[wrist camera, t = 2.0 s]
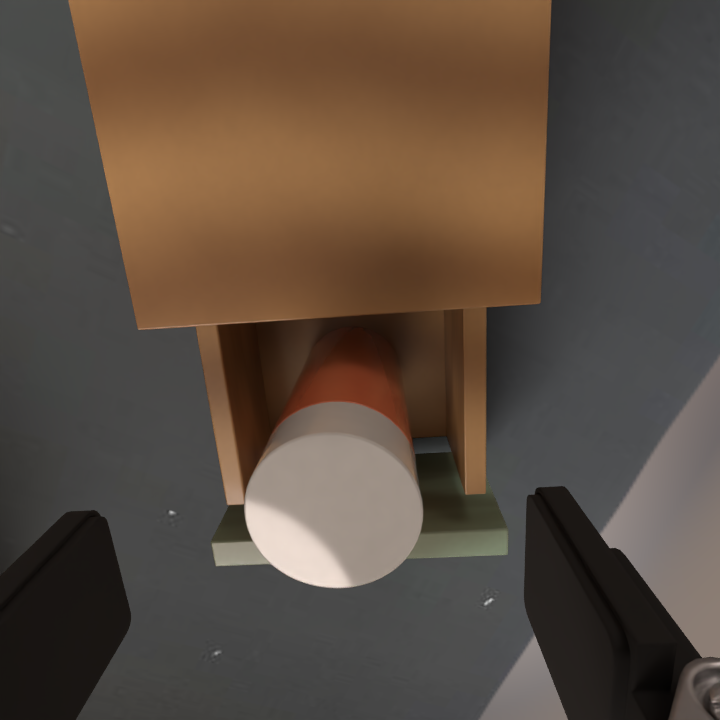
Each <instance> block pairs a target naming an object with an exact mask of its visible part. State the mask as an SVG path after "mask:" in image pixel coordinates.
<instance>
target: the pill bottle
mask: <svg viewBox="0 0 720 720" xmlns="http://www.w3.org/2000/svg"><path fill="white" fill-rule="evenodd" d="M244 514H245V521H246V525H247V529H248V531H249V534H250V536H251V539H252V540H253V542H254V544H255V546H256V547H257V549H258V550H259V551H260V553H261V554H262V555H263V556H264V557H265V558H266V559H267V561H268V562H269V563H271V564H272V565H273V566H274V567H275V568H277V569H278V570H279V571H281V572H283V573H284V574H286V575H287V576H289V577H291V578H294V579H296V580H298V581H301V582H303V583H306V584H310V585H314V586H318V587H326V588H348V587H355V586H360V585H364V584H367V583H370V582H373V581H375V580H377V579H379V578H382V577H383V576H385V575H387V574H388V573H390V572H392V571H393V570H394V569H395V568H397V567H398V566H399V565H400V564H401V563H402V562H403V561H404V560H405V559H406V558H407V556H408V555H409V554H410V552H411V551H412V550H413V548H414V546H415V544H416V542H417V540H418V538H419V535H420V532H421V529H422V523H423V501H422V495H421V488H420V482H419V476H418V470H417V464H416V457H415V451H414V445H413V439H412V433H411V426H410V420H409V414H408V408H407V402H406V396H405V389H404V383H403V377H402V371H401V365H400V361H399V357H398V355H397V353H396V351H395V349H394V347H393V346H392V345H391V344H390V342H389V341H388V340H387V339H386V338H384V337H383V336H382V335H380V334H379V333H377V332H375V331H373V330H370V329H367V328H364V327H357V326H348V327H342V328H338V329H335V330H333V331H331V332H329V333H327V334H325V335H324V336H323V337H322V338H320V339H319V340H318V341H317V342H316V344H315V345H314V346H313V348H312V350H311V351H310V353H309V355H308V357H307V360H306V362H305V364H304V366H303V368H302V370H301V372H300V374H299V376H298V378H297V381H296V383H295V385H294V387H293V389H292V391H291V393H290V395H289V397H288V400H287V402H286V404H285V406H284V408H283V410H282V412H281V414H280V416H279V419H278V421H277V423H276V425H275V427H274V429H273V431H272V433H271V435H270V437H269V440H268V442H267V444H266V446H265V448H264V450H263V452H262V454H261V456H260V459H259V461H258V463H257V465H256V467H255V469H254V471H253V473H252V475H251V478H250V480H249V483H248V485H247V488H246V493H245V498H244Z"/></svg>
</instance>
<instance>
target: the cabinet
mask: <svg viewBox="0 0 720 720" xmlns="http://www.w3.org/2000/svg"><path fill="white" fill-rule="evenodd" d="M69 5H70V10H71V15H72V19H73V24H74V29H75V34H76V38H77V43H78V48H79V52H80V57H81V62H82V67H83V71H84V76H85V81H86V86H87V90H88V95H89V100H90V105H91V109H92V114H93V119H94V123H95V128H96V133H97V138H98V142H99V147H100V152H101V157H102V161H103V166H104V171H105V176H106V180H107V185H108V190H109V194H110V199H111V204H112V209H113V213H114V218H115V223H116V228H117V232H118V237H119V242H120V247H121V251H122V256H123V261H124V265H125V270H126V275H127V280H128V284H129V289H130V294H131V299H132V303H133V308H134V313H135V318H136V322H137V327H138V329H139V330H147V329H162V328H178V327H193V326H208V325H223V324H239V323H254V322H269V321H284V320H300V319H315V318H330V317H345V316H361V315H376V314H391V313H406V312H422V311H437V310H452V309H467V308H483V307H498V306H513V305H528V304H539V303H540V302H541V281H542V252H543V224H544V196H545V168H546V139H547V111H548V83H549V54H550V26H551V0H69Z"/></svg>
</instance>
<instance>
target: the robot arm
mask: <svg viewBox="0 0 720 720" xmlns="http://www.w3.org/2000/svg"><path fill="white" fill-rule="evenodd" d="M524 602H525V608H526V612H527V615H528V618H529V621H530V623H531V626H532V628H533V631H534V633H535V636H536V639H537V641H538V643H539V646H540V649H541V651H542V654H543V656H544V659H545V662H546V664H547V667H548V669H549V672H550V674H551V677H552V679H553V682H554V685H555V687H556V690H557V692H558V695H559V697H560V700H561V703H562V705H563V708H564V710H565V713H566V715H567V718H568V720H720V658H714V657H707V658H702V657H701V656H700V655H699V653H698V652H697V651H696V649H695V648H694V647H693V645H692V644H691V643H690V641H689V640H688V639H687V637H686V636H685V635H684V633H683V632H682V631H681V629H680V628H679V627H678V625H677V624H676V623H675V621H674V620H673V619H672V617H671V616H670V615H669V613H668V612H667V611H666V609H665V608H664V607H663V605H662V604H661V602H660V601H659V600H658V599H657V598H656V596H655V595H654V593H653V592H652V591H651V589H650V588H649V587H648V585H647V584H646V582H645V581H644V580H643V578H642V577H641V576H640V575H639V573H638V572H637V571H636V569H635V568H634V566H633V565H632V564H631V562H630V561H629V560H628V558H627V557H626V556H625V555H624V554H623V553H622V552H621V551H620V550H618V549H616V548H609V547H608V545H607V544H606V543H605V541H604V540H603V538H602V537H601V536H600V534H599V533H598V531H597V530H596V529H595V527H594V526H593V524H592V523H591V522H590V520H589V519H588V518H587V516H586V515H585V513H584V512H583V511H582V509H581V508H580V506H579V505H578V504H577V502H576V501H575V499H574V498H573V497H572V495H571V494H570V492H569V491H568V490H567V489H566V488H565V487H563V486H559V487H539V488H537V489H536V491H535V495H528V497H527V509H526V545H525V580H524ZM130 622H131V612H130V608H129V604H128V600H127V596H126V592H125V588H124V584H123V581H122V577H121V573H120V569H119V565H118V561H117V557H116V553H115V549H114V545H113V541H112V537H111V534H110V530H109V526H108V522H107V520H106V518H105V517H101V516H100V514H99V513H98V512H97V511H94V510H91V511H71V512H67V513H66V514H64V515H63V516H62V517H61V518H60V519H59V520H58V521H57V522H56V523H55V524H54V525H53V526H52V527H50V528H49V529H48V530H47V531H46V532H45V533H44V534H43V535H42V536H41V537H40V538H39V539H38V540H37V541H36V542H35V543H34V544H33V545H32V546H31V547H30V548H29V549H28V550H27V551H26V552H25V553H24V554H23V555H22V556H20V557H19V558H18V559H17V560H16V561H15V562H14V563H13V564H12V565H11V566H10V567H9V568H8V569H7V570H6V571H5V572H4V573H3V574H2V575H1V576H0V720H76V718H77V717H78V715H79V713H80V711H81V710H82V708H83V706H84V705H85V703H86V701H87V700H88V698H89V696H90V694H91V693H92V691H93V689H94V688H95V686H96V684H97V683H98V681H99V679H100V677H101V676H102V674H103V672H104V671H105V669H106V667H107V666H108V664H109V662H110V660H111V659H112V657H113V655H114V654H115V652H116V650H117V649H118V647H119V645H120V643H121V642H122V640H123V638H124V637H125V635H126V633H127V631H128V629H129V626H130Z"/></svg>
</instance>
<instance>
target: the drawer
mask: <svg viewBox="0 0 720 720" xmlns="http://www.w3.org/2000/svg"><path fill="white" fill-rule="evenodd" d="M486 315H487V307H483V308H467V309H452V310H437V311H422V312H406V313H391V314H376V315H361V316H345V317H330V318H315V319H300V320H284V321H269V322H254V323H239V324H223V325H208V326H196V331H197V337H198V343H199V349H200V354H201V360H202V366H203V371H204V377H205V383H206V388H207V394H208V400H209V406H210V411H211V417H212V423H213V428H214V434H215V440H216V445H217V451H218V457H219V462H220V468H221V474H222V480H223V485H224V491H225V497H226V502H227V505H229V507H228V509H227V511H226V513H225V515H224V517H223V519H222V521H221V523H220V525H219V527H218V529H217V531H216V533H215V535H214V537H213V539H212V541H211V546H212V551H213V556H214V561H215V565H216V566H233V565H258V564H271V563H269V562H268V561H267V559H266V558H265V557H264V556H263V555H262V554H261V553H260V551H259V550H258V549H257V547H256V546H255V544H254V542H253V540H252V539H251V536H250V534H249V531H248V529H247V525H246V521H245V514H244V498H245V493H246V488H247V485H248V483H249V480H250V478H251V475H252V473H253V471H254V469H255V467H256V465H257V463H258V461H259V459H260V456H261V454H262V452H263V450H264V448H265V446H266V444H267V442H268V440H269V437H270V435H271V433H272V431H273V429H274V427H275V425H276V423H277V421H278V419H279V416H280V414H281V412H282V410H283V408H284V406H285V404H286V402H287V400H288V397H289V395H290V393H291V391H292V389H293V387H294V385H295V383H296V381H297V378H298V376H299V374H300V372H301V370H302V368H303V366H304V364H305V362H306V360H307V357H308V355H309V353H310V351H311V350H312V348H313V346H314V345H315V344H316V342H317V341H318V340H319V339H320V338H322V337H323V336H324V335H325V334H327V333H329V332H331V331H333V330H335V329H338V328H342V327H348V326H357V327H364V328H367V329H370V330H373V331H375V332H377V333H379V334H380V335H382V336H383V337H384V338H386V339H387V340H388V341H389V342H390V344H391V345H392V346H393V347H394V349H395V351H396V353H397V355H398V357H399V361H400V365H401V371H402V377H403V383H404V389H405V396H406V402H407V408H408V414H409V420H410V426H411V433H412V438H422V437H441V436H447V439H448V442H449V445H450V448H451V451H452V452H444V453H424V454H415V457H416V464H417V470H418V476H419V482H420V488H421V495H422V501H423V523H422V529H421V532H420V535H419V538H418V540H417V542H416V544H415V546H414V548H413V550H412V551H411V552H410V554H409V555H408V556H407V558H406V559H411V558H436V557H462V556H487V555H507V554H508V528H507V525H506V523H505V521H504V518H503V516H502V513H501V511H500V509H499V506H498V504H497V502H496V499H495V497H494V494H493V492H492V490H491V487H490V485H489V482H488V480H487V478H486Z"/></svg>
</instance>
